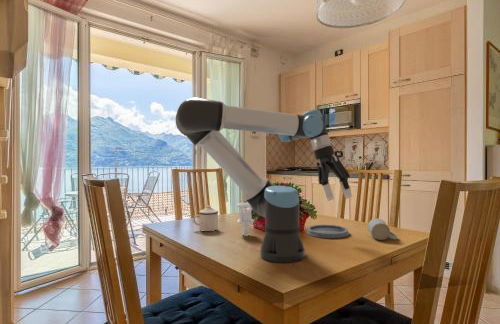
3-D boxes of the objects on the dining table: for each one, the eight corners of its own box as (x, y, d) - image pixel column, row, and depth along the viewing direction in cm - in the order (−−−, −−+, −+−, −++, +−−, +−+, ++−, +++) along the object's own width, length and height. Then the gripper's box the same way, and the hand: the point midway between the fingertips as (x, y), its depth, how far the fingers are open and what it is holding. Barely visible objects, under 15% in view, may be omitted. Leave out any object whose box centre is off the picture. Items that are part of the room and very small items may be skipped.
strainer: (248, 238, 127) (247, 202, 127) (234, 236, 130) (233, 201, 130) (256, 234, 133) (256, 200, 133) (243, 232, 136) (242, 199, 136)
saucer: (315, 239, 122) (315, 234, 122) (301, 229, 140) (301, 225, 140) (356, 237, 125) (356, 232, 125) (337, 227, 143) (336, 223, 143)
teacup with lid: (219, 227, 147) (219, 204, 147) (217, 232, 138) (217, 207, 138) (195, 228, 147) (194, 204, 147) (191, 232, 138) (191, 207, 138)
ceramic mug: (371, 240, 119) (371, 221, 119) (367, 235, 127) (367, 217, 127) (400, 242, 117) (400, 222, 117) (394, 236, 125) (394, 218, 125)
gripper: (347, 137, 109) (366, 193, 106) (317, 151, 132) (332, 197, 130) (329, 142, 107) (348, 199, 104) (302, 156, 130) (317, 202, 128)
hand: (339, 198), depth 117 cm, fingers open, 13 cm apart
